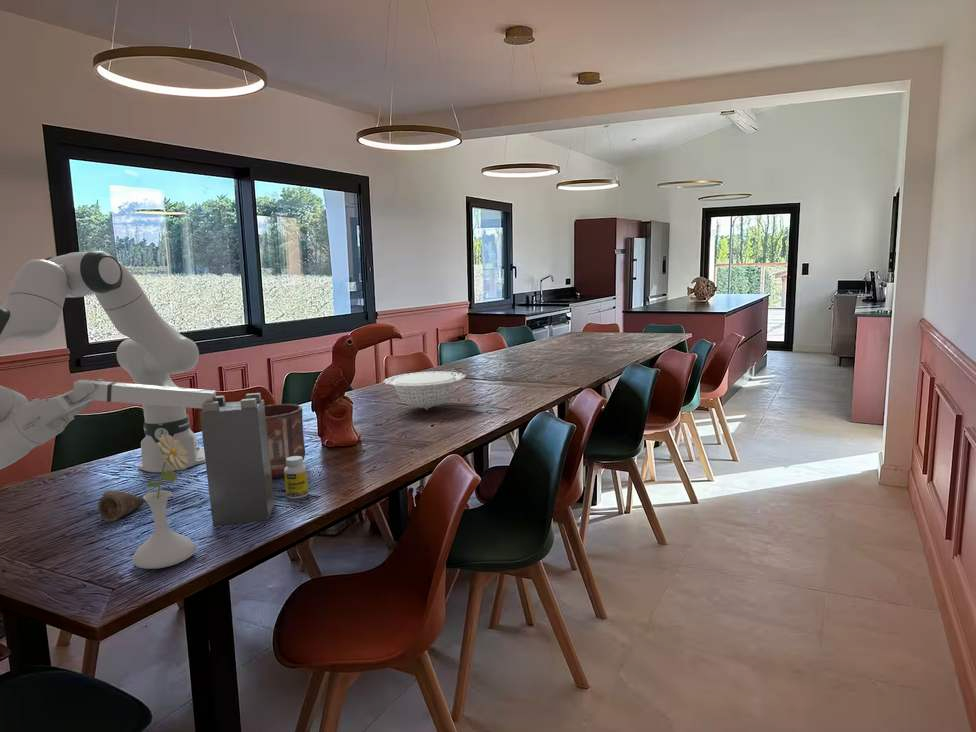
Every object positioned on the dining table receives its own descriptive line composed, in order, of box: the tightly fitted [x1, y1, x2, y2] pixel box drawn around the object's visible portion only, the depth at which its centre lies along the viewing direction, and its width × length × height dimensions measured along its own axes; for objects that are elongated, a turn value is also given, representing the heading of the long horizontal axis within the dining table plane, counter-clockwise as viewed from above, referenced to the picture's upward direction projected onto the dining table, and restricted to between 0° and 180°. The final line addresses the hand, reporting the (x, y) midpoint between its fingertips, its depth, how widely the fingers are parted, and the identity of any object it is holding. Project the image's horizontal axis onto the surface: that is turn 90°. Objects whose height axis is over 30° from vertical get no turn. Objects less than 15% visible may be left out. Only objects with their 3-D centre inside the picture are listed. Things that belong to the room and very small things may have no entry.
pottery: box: [264, 403, 306, 479], centre depth 184 cm, size 18×18×18 cm
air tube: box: [73, 379, 217, 410], centre depth 146 cm, size 4×28×4 cm, turn 101°
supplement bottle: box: [284, 456, 309, 500], centre depth 165 cm, size 5×5×10 cm
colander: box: [382, 370, 467, 411], centre depth 256 cm, size 32×32×13 cm
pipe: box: [97, 490, 144, 522], centre depth 160 cm, size 6×17×10 cm
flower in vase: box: [131, 434, 197, 570], centre depth 129 cm, size 13×11×25 cm
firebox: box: [199, 392, 275, 527], centre depth 152 cm, size 10×12×28 cm
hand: (98, 383), depth 144 cm, fingers closed on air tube, 4 cm apart
